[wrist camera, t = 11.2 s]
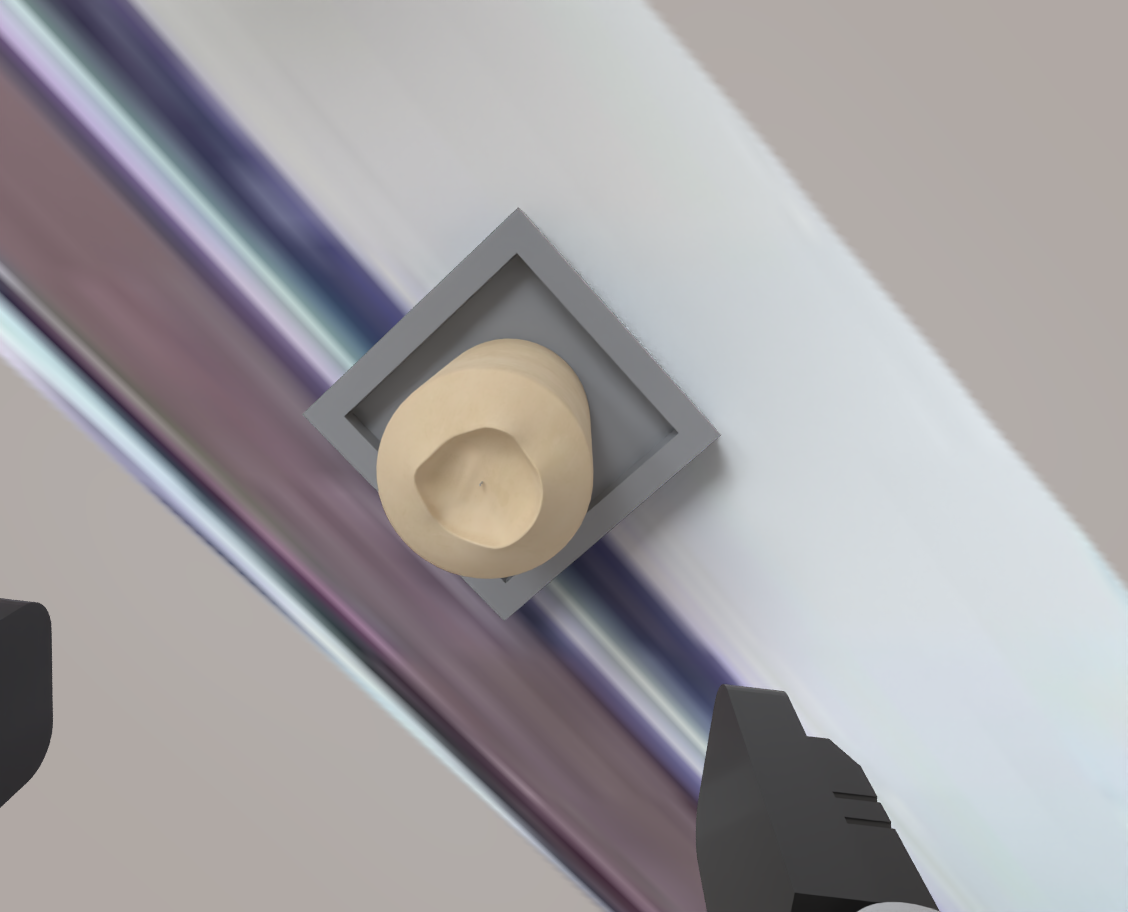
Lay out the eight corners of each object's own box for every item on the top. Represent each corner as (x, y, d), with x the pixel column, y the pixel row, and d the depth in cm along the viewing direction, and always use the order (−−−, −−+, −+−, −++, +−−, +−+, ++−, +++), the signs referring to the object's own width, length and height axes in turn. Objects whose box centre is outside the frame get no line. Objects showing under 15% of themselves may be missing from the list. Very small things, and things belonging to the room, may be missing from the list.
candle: (411, 461, 31) (333, 556, 21) (461, 313, 30) (402, 340, 20) (558, 514, 31) (547, 631, 21) (613, 369, 30) (628, 424, 20)
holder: (319, 405, 32) (302, 414, 30) (522, 211, 30) (518, 207, 28) (509, 600, 33) (504, 621, 31) (712, 425, 31) (720, 435, 29)
